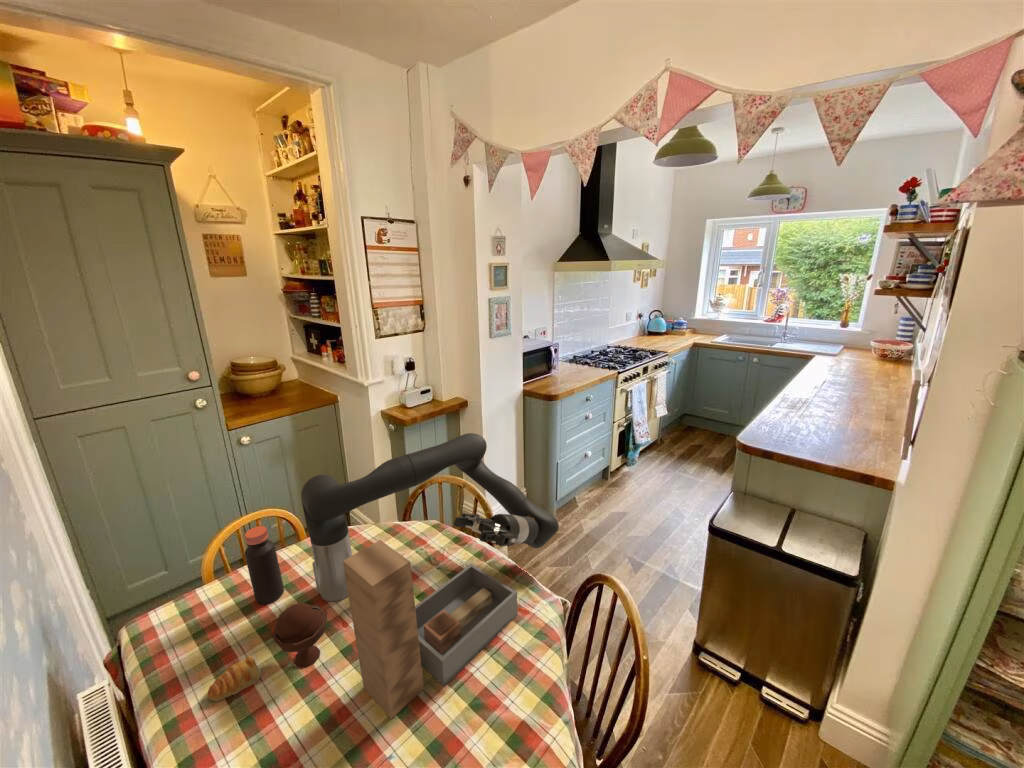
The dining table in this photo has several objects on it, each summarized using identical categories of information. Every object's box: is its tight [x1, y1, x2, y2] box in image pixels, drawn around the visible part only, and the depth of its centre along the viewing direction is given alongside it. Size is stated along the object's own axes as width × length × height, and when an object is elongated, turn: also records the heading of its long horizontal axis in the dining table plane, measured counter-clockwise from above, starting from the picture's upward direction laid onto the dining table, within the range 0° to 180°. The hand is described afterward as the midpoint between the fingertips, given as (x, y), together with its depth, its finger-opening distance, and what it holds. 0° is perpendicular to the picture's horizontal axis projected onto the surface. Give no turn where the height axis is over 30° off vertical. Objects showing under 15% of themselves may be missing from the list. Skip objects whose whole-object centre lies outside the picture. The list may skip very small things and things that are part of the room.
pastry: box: [207, 655, 262, 702], centre depth 90 cm, size 9×7×4 cm
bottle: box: [244, 525, 285, 605], centre depth 112 cm, size 7×7×20 cm
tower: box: [343, 539, 425, 720], centre depth 85 cm, size 8×10×32 cm
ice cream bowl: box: [272, 602, 328, 669], centre depth 94 cm, size 11×11×15 cm
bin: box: [415, 563, 518, 687], centre depth 102 cm, size 24×16×7 cm, turn 140°
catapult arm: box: [424, 588, 492, 654], centre depth 103 cm, size 18×6×4 cm, turn 139°
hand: (468, 528), depth 99 cm, fingers open, 8 cm apart
